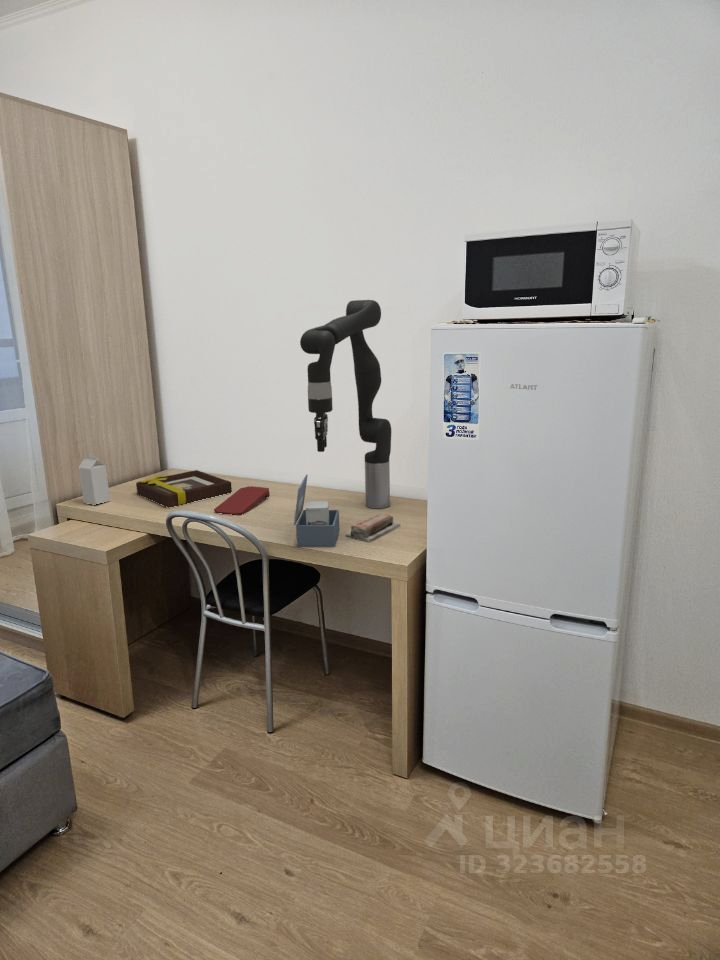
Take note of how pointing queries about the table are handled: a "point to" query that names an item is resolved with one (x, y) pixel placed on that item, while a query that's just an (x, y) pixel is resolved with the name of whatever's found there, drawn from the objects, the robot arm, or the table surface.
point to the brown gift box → (182, 488)
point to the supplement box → (317, 513)
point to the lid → (300, 499)
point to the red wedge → (242, 500)
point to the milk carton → (94, 481)
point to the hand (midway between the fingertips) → (322, 449)
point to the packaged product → (373, 527)
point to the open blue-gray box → (318, 531)
